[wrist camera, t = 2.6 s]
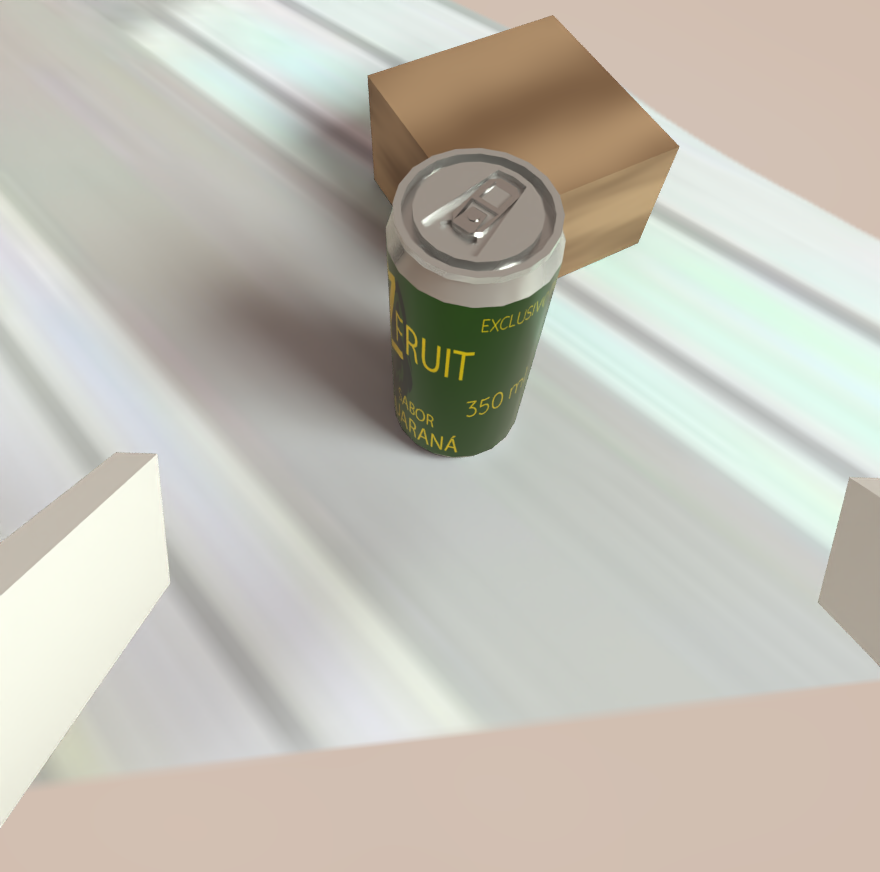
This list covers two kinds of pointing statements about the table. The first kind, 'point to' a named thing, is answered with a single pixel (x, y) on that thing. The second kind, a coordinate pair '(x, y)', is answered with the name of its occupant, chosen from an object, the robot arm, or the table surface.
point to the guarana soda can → (469, 293)
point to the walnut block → (530, 128)
